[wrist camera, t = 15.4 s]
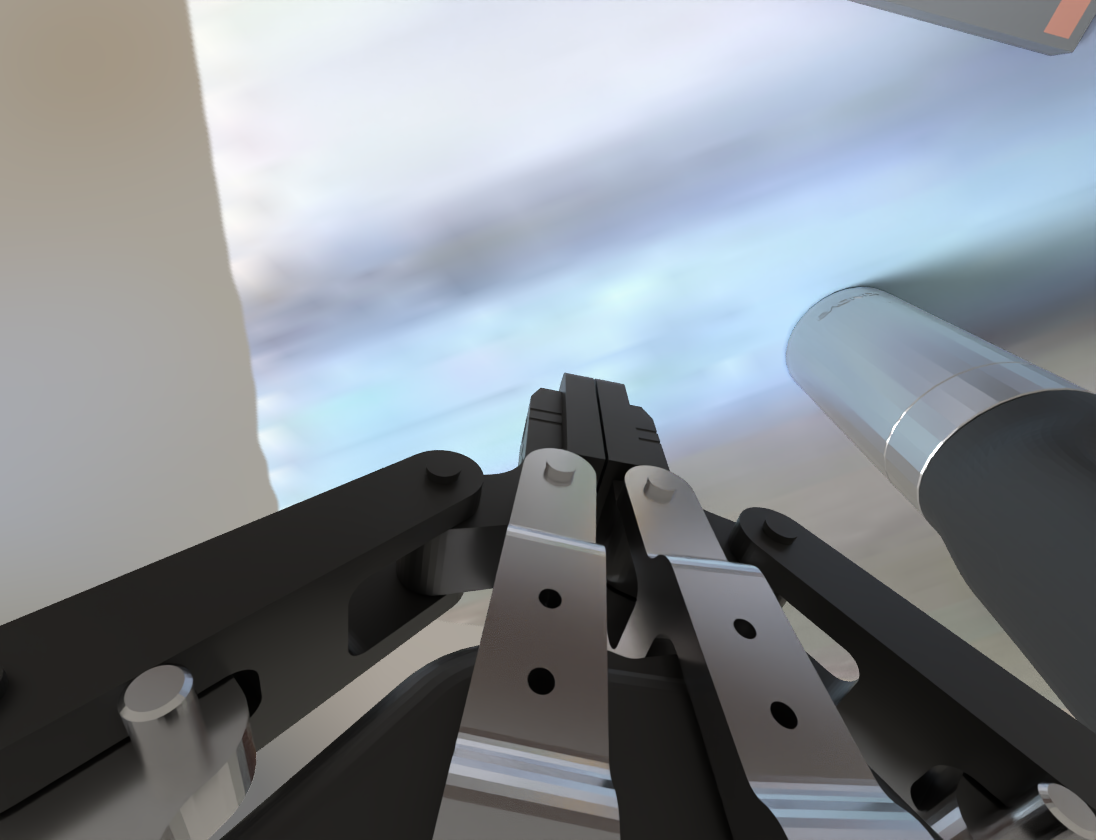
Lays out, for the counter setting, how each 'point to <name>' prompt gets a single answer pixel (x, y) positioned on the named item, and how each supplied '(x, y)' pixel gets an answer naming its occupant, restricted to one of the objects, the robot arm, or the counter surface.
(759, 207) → the counter surface
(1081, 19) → the switch panel
